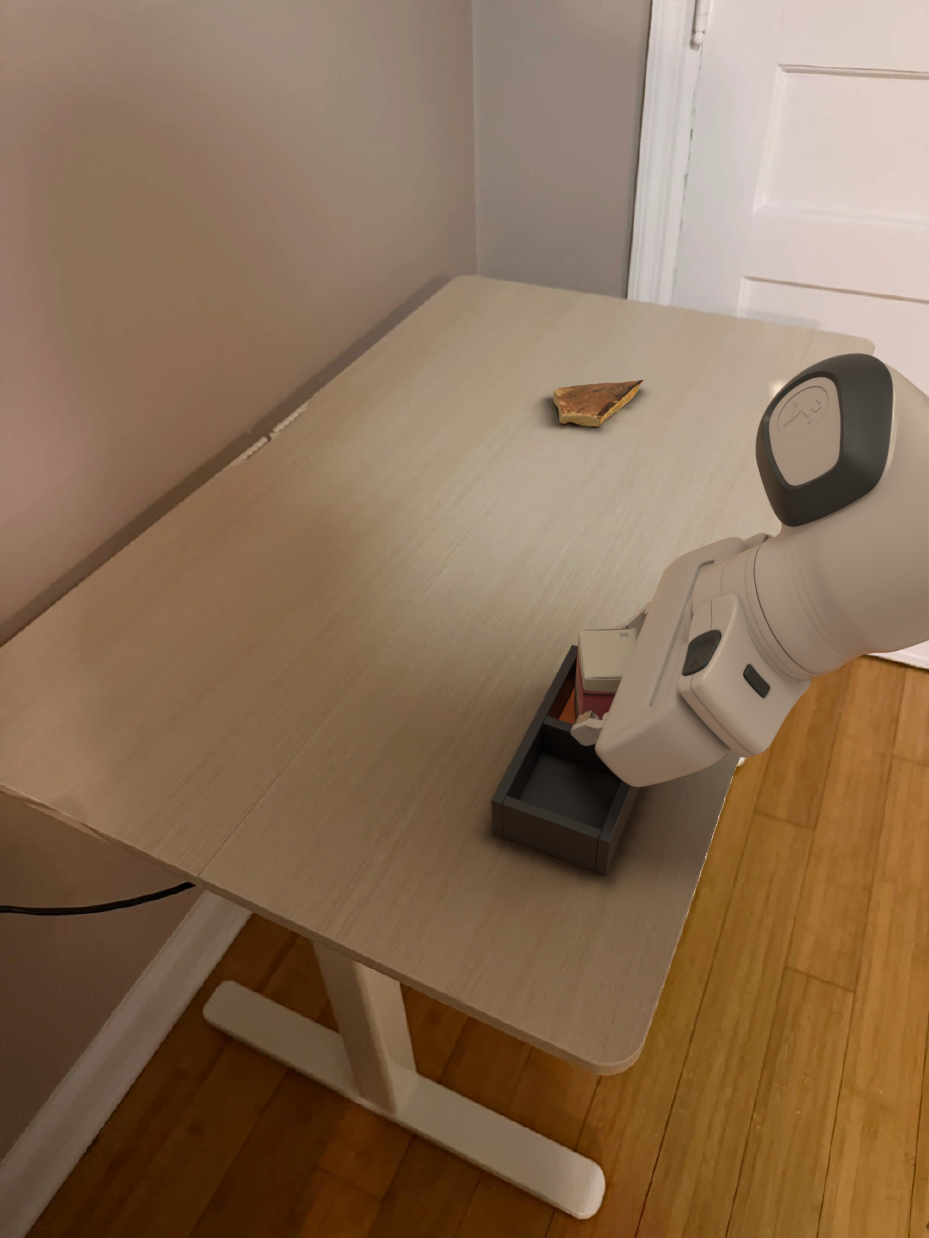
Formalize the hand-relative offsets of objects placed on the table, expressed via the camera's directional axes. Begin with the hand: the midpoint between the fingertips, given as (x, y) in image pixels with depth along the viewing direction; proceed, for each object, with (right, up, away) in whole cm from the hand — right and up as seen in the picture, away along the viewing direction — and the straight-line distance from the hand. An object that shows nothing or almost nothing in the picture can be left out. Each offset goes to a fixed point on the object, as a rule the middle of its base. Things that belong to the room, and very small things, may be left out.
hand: (598, 685), depth 66 cm
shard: (+5, +30, +39) cm, 49 cm away
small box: (+1, -3, +3) cm, 5 cm away
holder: (-1, -6, +1) cm, 6 cm away
